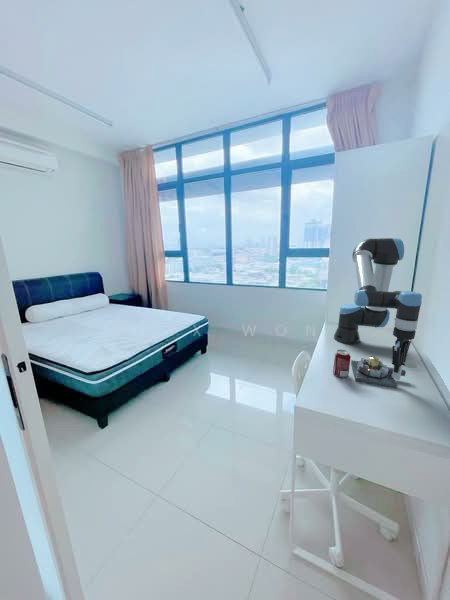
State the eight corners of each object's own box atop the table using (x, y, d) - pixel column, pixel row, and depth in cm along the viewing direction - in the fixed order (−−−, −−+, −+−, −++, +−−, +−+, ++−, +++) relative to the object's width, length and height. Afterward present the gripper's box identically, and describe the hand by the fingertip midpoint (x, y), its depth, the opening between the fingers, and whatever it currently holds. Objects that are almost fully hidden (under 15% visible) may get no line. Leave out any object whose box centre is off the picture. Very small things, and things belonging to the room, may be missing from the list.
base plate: (350, 363, 129) (352, 347, 127) (386, 369, 124) (388, 352, 121) (355, 381, 113) (357, 363, 111) (396, 388, 107) (399, 370, 105)
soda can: (349, 379, 114) (352, 355, 112) (334, 377, 116) (337, 354, 113) (346, 372, 121) (348, 349, 118) (331, 370, 122) (333, 348, 119)
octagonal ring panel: (359, 374, 114) (360, 367, 113) (356, 362, 125) (357, 356, 124) (408, 382, 108) (410, 374, 107) (400, 369, 118) (401, 362, 118)
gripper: (401, 322, 110) (392, 370, 116) (388, 328, 103) (380, 379, 109) (421, 327, 104) (411, 377, 110) (408, 334, 97) (399, 387, 103)
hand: (395, 378), depth 109 cm, fingers closed
